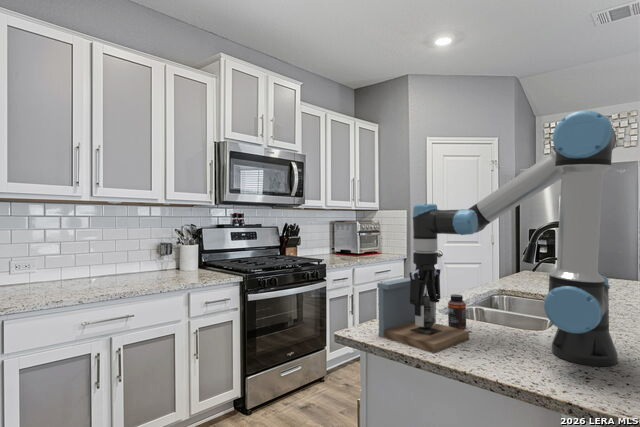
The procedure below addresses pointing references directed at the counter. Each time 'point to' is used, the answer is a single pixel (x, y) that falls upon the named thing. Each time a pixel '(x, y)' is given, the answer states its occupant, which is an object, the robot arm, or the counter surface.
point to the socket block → (434, 342)
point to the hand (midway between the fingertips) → (425, 323)
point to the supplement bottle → (457, 312)
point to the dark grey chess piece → (427, 316)
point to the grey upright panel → (394, 304)
